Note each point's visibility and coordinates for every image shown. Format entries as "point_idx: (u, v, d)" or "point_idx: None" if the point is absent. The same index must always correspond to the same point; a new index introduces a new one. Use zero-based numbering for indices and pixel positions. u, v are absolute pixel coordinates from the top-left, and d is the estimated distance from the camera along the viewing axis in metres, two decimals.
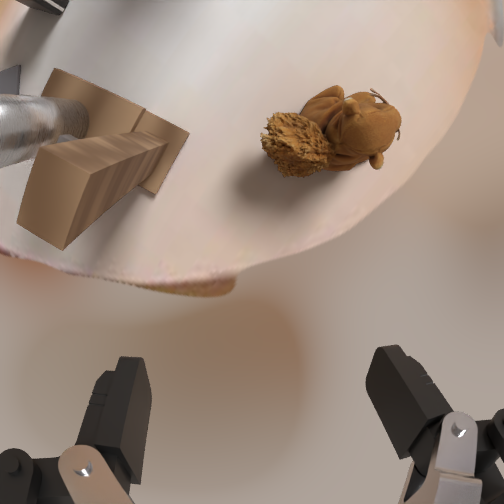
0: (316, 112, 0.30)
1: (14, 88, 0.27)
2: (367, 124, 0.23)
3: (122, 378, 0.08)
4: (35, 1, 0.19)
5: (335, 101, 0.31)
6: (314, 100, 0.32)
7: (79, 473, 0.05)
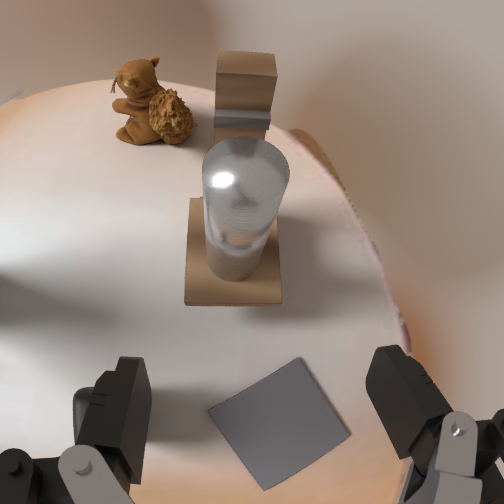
0: (142, 124, 0.41)
1: (234, 400, 0.32)
2: (135, 69, 0.33)
3: (122, 378, 0.08)
4: None
5: (128, 123, 0.42)
6: (134, 137, 0.43)
7: (79, 473, 0.05)
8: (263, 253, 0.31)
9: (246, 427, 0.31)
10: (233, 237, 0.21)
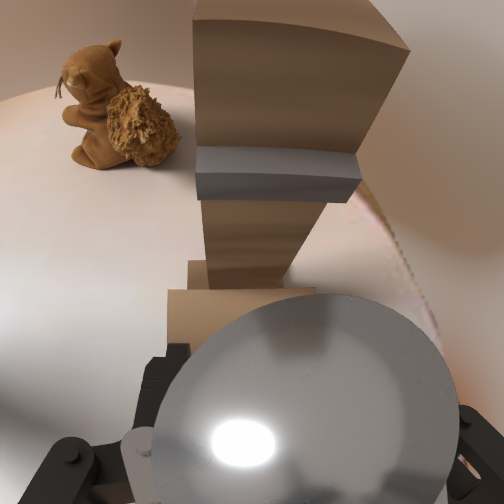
0: (102, 140, 0.27)
1: None
2: (84, 59, 0.20)
3: (174, 362, 0.09)
4: None
5: (85, 140, 0.28)
6: (94, 160, 0.29)
7: (145, 454, 0.06)
8: None
9: None
10: None
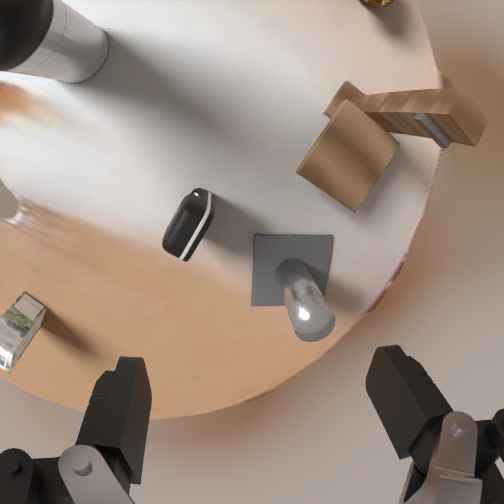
0: None
1: (276, 238, 0.47)
2: None
3: (122, 378, 0.08)
4: None
5: None
6: None
7: (79, 473, 0.05)
8: (367, 174, 0.36)
9: (271, 259, 0.48)
10: None
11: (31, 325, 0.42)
